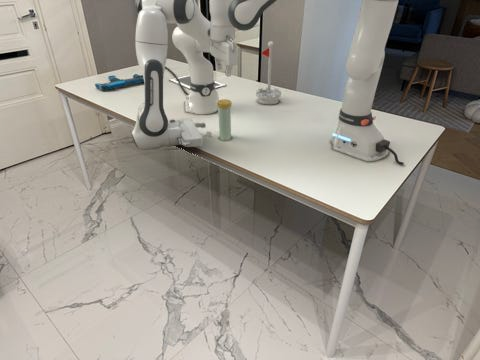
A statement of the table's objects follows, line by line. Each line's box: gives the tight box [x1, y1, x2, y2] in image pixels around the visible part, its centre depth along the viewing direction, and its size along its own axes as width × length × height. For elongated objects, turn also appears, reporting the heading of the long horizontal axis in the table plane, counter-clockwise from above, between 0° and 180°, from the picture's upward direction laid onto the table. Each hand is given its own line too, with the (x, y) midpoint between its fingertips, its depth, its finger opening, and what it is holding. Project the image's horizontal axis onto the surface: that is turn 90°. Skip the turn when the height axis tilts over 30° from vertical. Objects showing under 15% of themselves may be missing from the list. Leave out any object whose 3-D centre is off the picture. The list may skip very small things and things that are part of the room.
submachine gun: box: [94, 73, 144, 91], centre depth 208 cm, size 34×4×25 cm
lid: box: [217, 98, 233, 109], centre depth 136 cm, size 6×6×2 cm
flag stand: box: [255, 41, 282, 105], centre depth 173 cm, size 13×13×30 cm
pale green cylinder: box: [217, 107, 232, 141], centre depth 140 cm, size 5×5×16 cm
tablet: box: [169, 74, 227, 90], centre depth 208 cm, size 32×20×1 cm, turn 41°
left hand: (208, 129), depth 139 cm, fingers open, 8 cm apart
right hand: (223, 72), depth 129 cm, fingers open, 8 cm apart
